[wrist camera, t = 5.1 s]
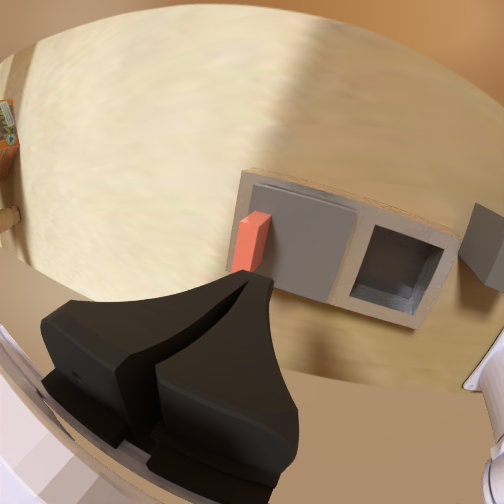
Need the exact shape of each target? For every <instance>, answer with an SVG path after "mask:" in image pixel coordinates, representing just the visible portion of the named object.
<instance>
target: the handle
mask: <svg viewBox="0 0 504 504" xmlns="http://www.w3.org/2000/svg"><path fill="white" fill-rule="evenodd" d="M19 221H20V216H19V211H18V209H17V207H16V206H12V207H10V209H9V208H5V209H1V210H0V233H2V232H4V231H6V230H8V229H10V228H11V227H12V226H15V225H17V224H18V223H19Z"/></svg>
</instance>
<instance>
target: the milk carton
mask: <svg viewBox="0 0 504 504" xmlns="http://www.w3.org/2000/svg"><path fill="white" fill-rule="evenodd" d="M19 146H20V144H19V139H18V134H17V129H16V123H15V116H14V109H13V101H12V99H9V100H0V181H3V180H6V177H7V174H8V172H9V169H10V167H11V164H12V162H13V159H14V157H15V155H16V152H17V150H18V148H19Z"/></svg>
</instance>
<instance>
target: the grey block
mask: <svg viewBox="0 0 504 504" xmlns="http://www.w3.org/2000/svg"><path fill="white" fill-rule="evenodd" d="M458 255H459V256H460V257H461V258H462V259H463V260H464V262H465V263H466V264H467V265H468V266H469V267H470V268H471V270H472V271H473V272H474V273H475V274H476V276H477V277H478V278H479V279H480V280H481V282H482V283H483V284H484V285H485V286H488V287H490V288H493V289H495V290H497V291H500V292H502V293H504V217H502V216H500V215H498V214H497V213H495V212H493V211H491V210H489V209H487V208H485V207H483V206H481V205H479V204H477V203H475V206H474V209H473V213H472V216H471V219H470V222H469V225H468V228H467V230H466V233H465V236H464V239H463V241H462V244H461V246H460V249H459V251H458Z"/></svg>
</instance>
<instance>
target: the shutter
mask: <svg viewBox="0 0 504 504" xmlns="http://www.w3.org/2000/svg"><path fill="white" fill-rule="evenodd" d="M356 214H357V212H356V210H353V209H350V208H347V207H343V206H340V205H337V204H333V203H330V202H326V201H323V200H320V199H316V198H312V197H309V196H305V195H302V194H298V193H294V192H290V191H286V190H283V189H279V188H275V187H271V186H267V185H263V184H258V183H255V184H253V189H252V194H251V200H250V205H249V211H248V216H247V217H246V218H244V219H243V220H241V221H240V223H239V229H238V235H237V241H236V247H235V253H234V259H233V265H232V271H231V273H235V272H237V271H239V270H242V269H243V270H246V271H250V272H253V273H256V274H259V275H262V276H265V277H268V278H271V279H273V281H274V282H275V283H274V287H275V288H278V289H281V290H284V291H287V292H291V293H294V294H297V295H300V296H303V297H306V298H310V299H313V300H316V301H319V302H322V303H326V302H327V300H328V297H329V294H330V292H331V289H332V286H333V283H334V281H335V278H336V275H337V272H338V269H339V267H340V264H341V261H342V258H343V255H344V252H345V249H346V246H347V243H348V240H349V237H350V233H351V230H352V227H353V224H354V220H355V217H356Z"/></svg>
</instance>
